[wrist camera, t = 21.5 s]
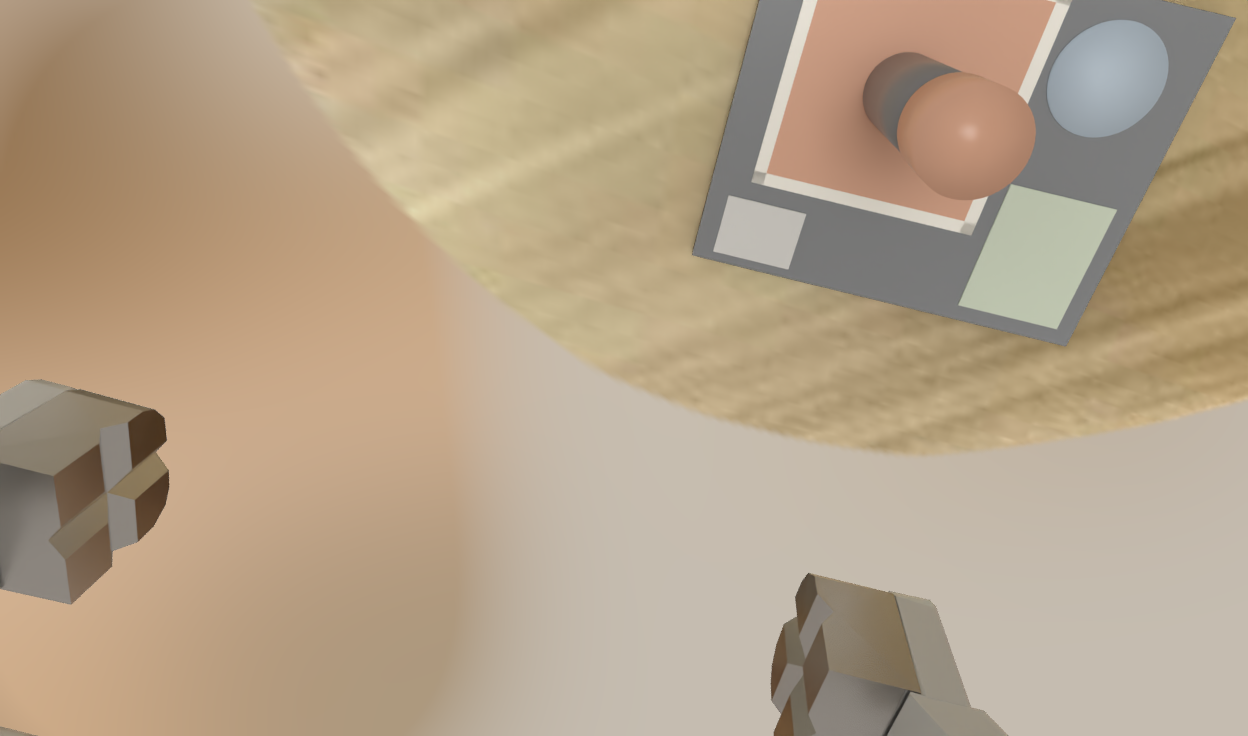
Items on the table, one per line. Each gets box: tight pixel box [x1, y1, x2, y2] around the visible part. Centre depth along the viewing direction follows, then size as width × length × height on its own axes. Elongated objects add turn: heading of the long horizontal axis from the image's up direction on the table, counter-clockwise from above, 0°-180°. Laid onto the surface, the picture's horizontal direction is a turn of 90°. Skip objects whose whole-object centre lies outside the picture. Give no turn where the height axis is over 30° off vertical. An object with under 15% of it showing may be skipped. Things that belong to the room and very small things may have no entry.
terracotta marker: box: [863, 52, 1036, 200], centre depth 31 cm, size 4×4×12 cm
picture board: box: [692, 0, 1236, 346], centre depth 38 cm, size 20×16×1 cm
